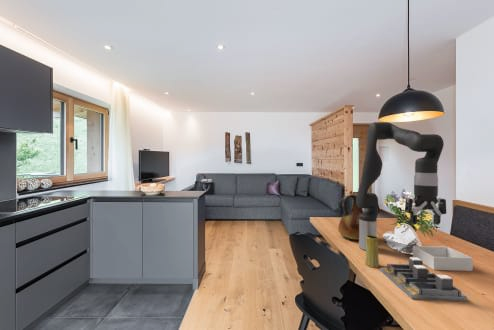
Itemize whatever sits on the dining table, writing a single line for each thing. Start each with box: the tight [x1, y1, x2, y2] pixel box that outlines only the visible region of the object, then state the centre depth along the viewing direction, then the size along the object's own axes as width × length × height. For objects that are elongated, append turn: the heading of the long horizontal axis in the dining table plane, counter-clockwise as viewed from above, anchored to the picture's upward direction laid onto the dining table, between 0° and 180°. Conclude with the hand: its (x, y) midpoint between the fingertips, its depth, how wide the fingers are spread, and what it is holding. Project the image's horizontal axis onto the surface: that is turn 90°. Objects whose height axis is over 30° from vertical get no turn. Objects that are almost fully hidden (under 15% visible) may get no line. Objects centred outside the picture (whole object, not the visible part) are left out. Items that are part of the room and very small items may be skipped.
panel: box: [380, 263, 468, 302], centre depth 95 cm, size 22×20×4 cm
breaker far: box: [408, 256, 423, 269], centre depth 103 cm, size 3×4×6 cm
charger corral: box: [412, 245, 474, 272], centre depth 114 cm, size 15×18×6 cm
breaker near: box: [436, 274, 454, 290], centre depth 87 cm, size 3×4×6 cm
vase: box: [364, 235, 380, 269], centre depth 113 cm, size 6×6×14 cm
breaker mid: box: [413, 264, 429, 278], centre depth 95 cm, size 3×4×6 cm
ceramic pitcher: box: [338, 193, 364, 241], centre depth 153 cm, size 20×20×30 cm
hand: (425, 224), depth 90 cm, fingers open, 8 cm apart
